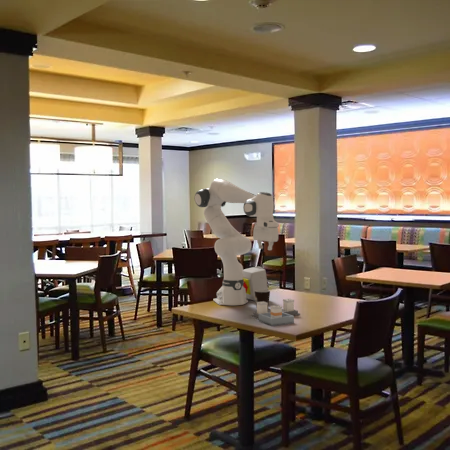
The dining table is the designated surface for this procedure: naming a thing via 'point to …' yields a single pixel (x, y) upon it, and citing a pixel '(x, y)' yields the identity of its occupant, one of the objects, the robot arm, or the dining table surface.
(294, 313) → the holder
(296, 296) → the dining table surface
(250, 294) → the electrical switch box
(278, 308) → the fuse marked
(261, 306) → the fuse
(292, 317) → the tray
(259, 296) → the coffee mug
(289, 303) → the fuse
